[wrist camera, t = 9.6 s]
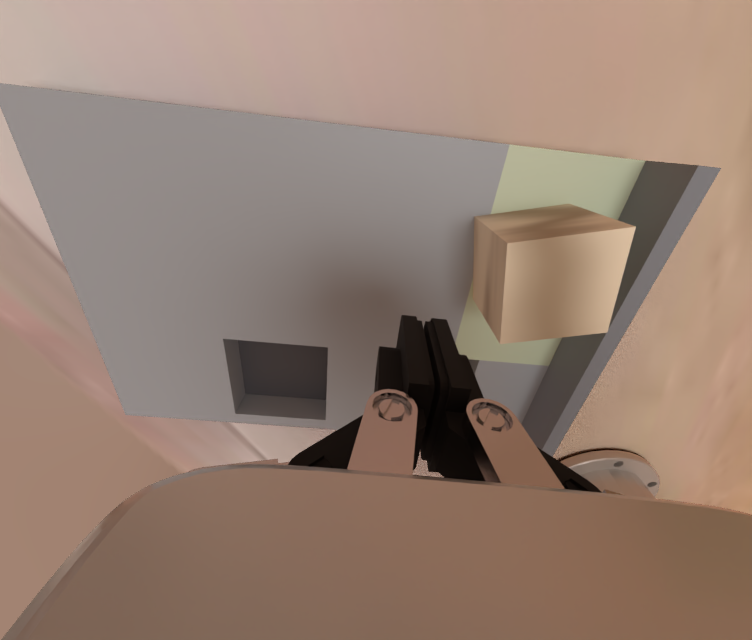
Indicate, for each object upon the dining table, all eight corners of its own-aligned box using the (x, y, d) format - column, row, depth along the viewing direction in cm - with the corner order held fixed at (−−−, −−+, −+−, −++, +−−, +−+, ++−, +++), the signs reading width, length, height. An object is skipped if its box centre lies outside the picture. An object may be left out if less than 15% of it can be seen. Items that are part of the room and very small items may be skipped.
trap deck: (630, 159, 18) (720, 168, 13) (513, 419, 29) (540, 476, 24) (41, 89, 16) (-96, 69, 12) (145, 392, 27) (96, 447, 22)
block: (569, 203, 17) (636, 226, 13) (555, 288, 19) (607, 332, 15) (474, 216, 17) (507, 243, 13) (472, 298, 20) (500, 344, 15)
